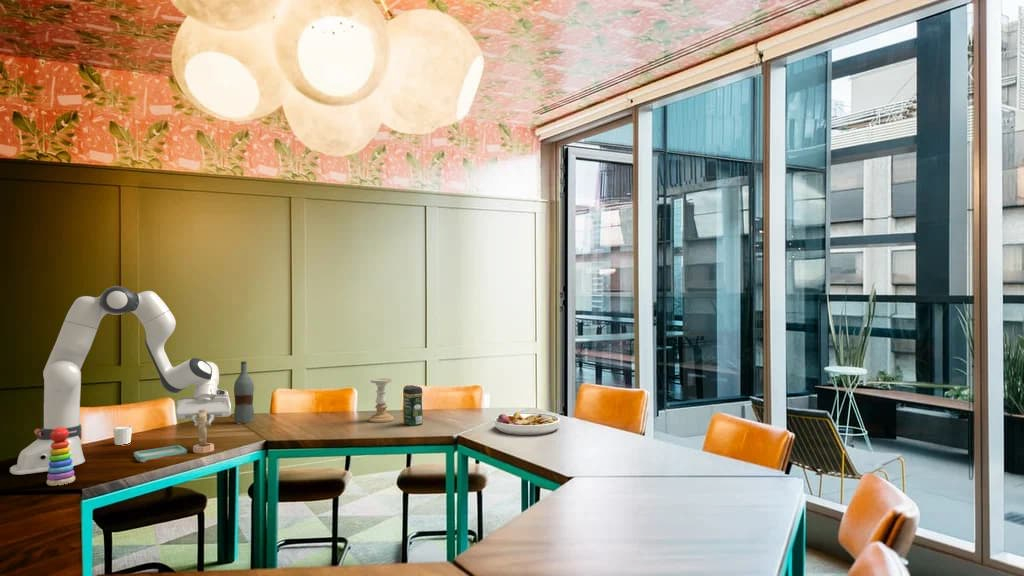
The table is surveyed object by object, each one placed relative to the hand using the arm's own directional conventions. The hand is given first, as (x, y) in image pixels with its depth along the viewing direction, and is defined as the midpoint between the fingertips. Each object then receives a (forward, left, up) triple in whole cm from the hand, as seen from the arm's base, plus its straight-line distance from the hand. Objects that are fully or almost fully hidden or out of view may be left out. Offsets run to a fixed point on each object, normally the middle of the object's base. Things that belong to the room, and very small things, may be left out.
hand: (202, 425), depth 254 cm
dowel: (0, +1, -8) cm, 8 cm away
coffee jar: (+92, -11, -11) cm, 93 cm away
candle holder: (+86, +8, -11) cm, 87 cm away
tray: (-13, +7, -11) cm, 19 cm away
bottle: (+35, +52, -11) cm, 63 cm away
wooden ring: (+1, +1, -11) cm, 11 cm away
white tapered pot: (-19, +42, -11) cm, 47 cm away
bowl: (+123, -58, -12) cm, 136 cm away
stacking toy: (-47, -9, -11) cm, 50 cm away
